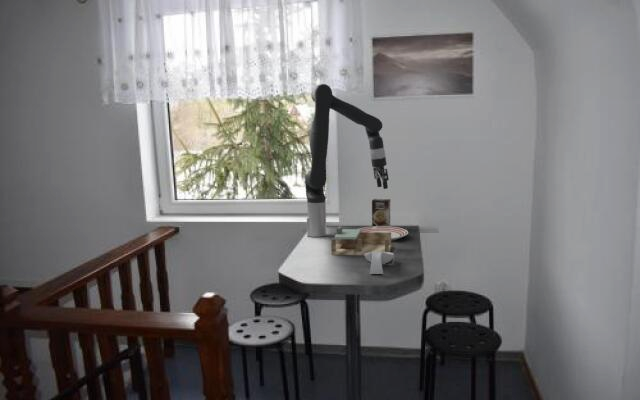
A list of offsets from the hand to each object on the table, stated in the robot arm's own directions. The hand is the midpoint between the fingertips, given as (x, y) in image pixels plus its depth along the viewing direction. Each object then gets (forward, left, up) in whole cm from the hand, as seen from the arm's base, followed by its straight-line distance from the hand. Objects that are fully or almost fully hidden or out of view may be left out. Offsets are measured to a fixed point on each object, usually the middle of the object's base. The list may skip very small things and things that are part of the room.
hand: (382, 187), depth 259 cm
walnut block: (-11, -49, -22) cm, 55 cm away
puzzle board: (-5, -49, -22) cm, 54 cm away
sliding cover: (-11, -49, -15) cm, 53 cm away
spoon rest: (+4, -72, -23) cm, 76 cm away
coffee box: (-1, +1, -23) cm, 23 cm away
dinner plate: (0, -19, -23) cm, 30 cm away
